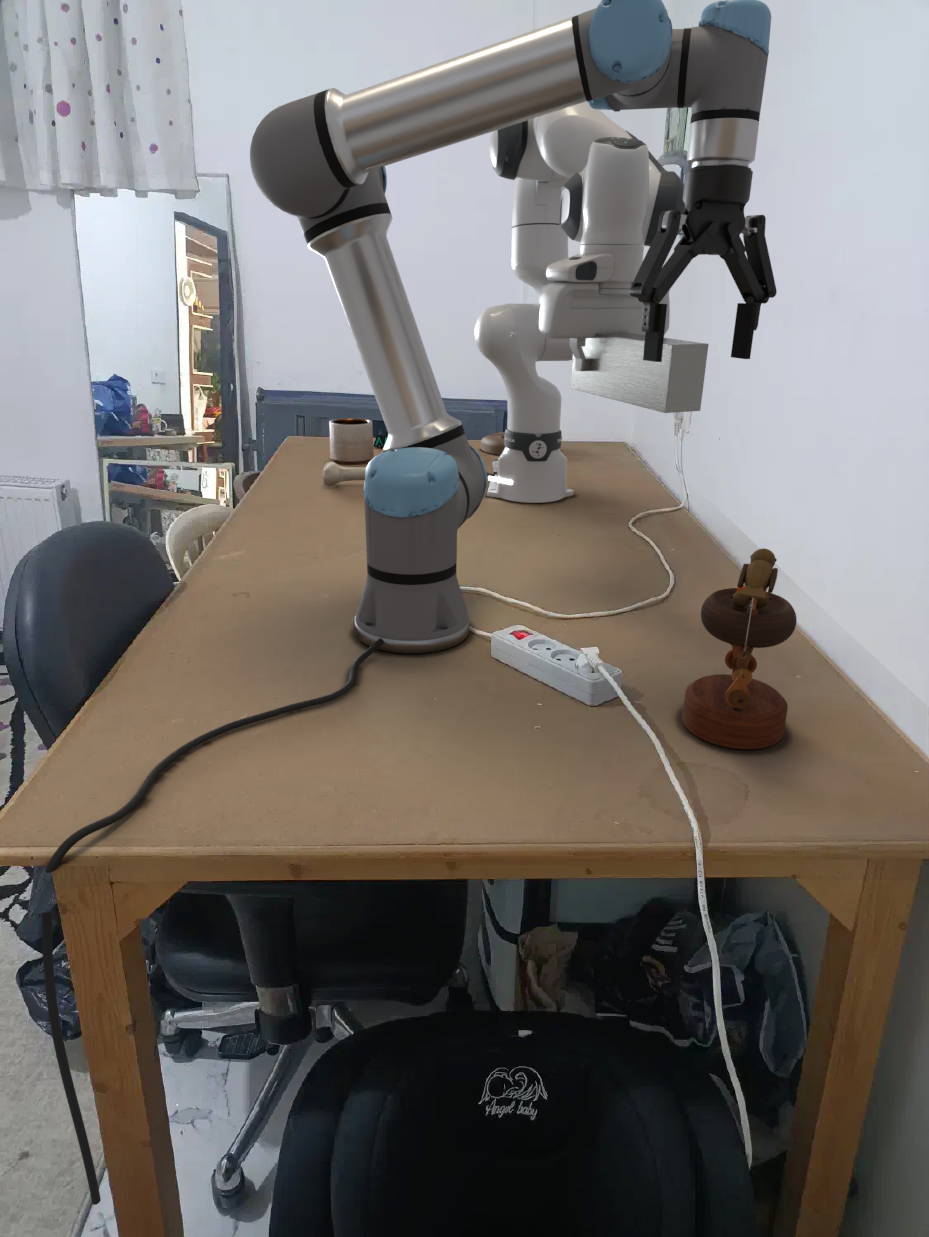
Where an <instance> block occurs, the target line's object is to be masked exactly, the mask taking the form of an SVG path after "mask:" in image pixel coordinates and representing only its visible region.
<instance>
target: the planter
mask: <svg viewBox="0 0 929 1237" xmlns="http://www.w3.org/2000/svg"><path fill="white" fill-rule="evenodd" d="M328 424H329V425H328V426H329V453H330V454H329V455H330V456H329V457H330V459H331V460H332V461H333V462H334V463H341V464H363V463H367V462H368V463H369V462H370V461H371V460H372V459H373V458H374V457H375V455H374V452H375V451H374V450H375V449H374V430H373V429H374V428H373V420H371V419H369V418H362V417H361V418H360V417H342V418H341V417H340V418H335V419H334V418H333V419H331V420H329V421H328Z"/></svg>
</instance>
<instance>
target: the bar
mask: <svg viewBox="0 0 929 1237" xmlns="http://www.w3.org/2000/svg"><path fill="white" fill-rule="evenodd" d="M644 343H645V335H641V334H634V333H596V334H595V337H594V338H586V341H585V346H582V349H583V352H584V355H585V357H586V358H589V359H590V365H589V366H590V369H589V371H576V370H575V359H576V358H575V357H574V355H573V360H572V362H571V363H572V364H571V378H570V379H571V380H570V389H571V390H576V391H579V392H583V393H587V394H590V395H594V396H598V397H601V398H606V399H609V400H613V401H618V402H621V403H624V404H625V403H626V404H629V405H633V406H637V407H640V408H645V409H648V410H652V411H656V412H659V413H663V414H672V413H686V412H700V411H701V408H702V399H703V391H704V385H705V384H704V383H705V375H706V368H707V361H708V360H707V359H708V352H709V343H706V342H705V343H704V342H700V341H699V342H698V341H692V340H691V341H690V340H683V339H677V338H669V337H664V341H663V351H662V361H661V362H653V361H647V360H643V354H644Z"/></svg>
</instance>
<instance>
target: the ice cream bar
mask: <svg viewBox="0 0 929 1237" xmlns="http://www.w3.org/2000/svg"><path fill="white" fill-rule="evenodd" d="M504 435H505V431H501V432H494V433H491V434H486V435H485V436H483V437H482V438H481V440H480V450H482V451H483V452H485V453H488V454H492V455H497V456H500V455H501V454H502V452H503V450H504V448H505V445H504Z"/></svg>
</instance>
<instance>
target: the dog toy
mask: <svg viewBox="0 0 929 1237" xmlns="http://www.w3.org/2000/svg"><path fill="white" fill-rule="evenodd" d="M322 470H323V471H322V483H323V484H324V485H327V486H334V485H338V484H340V483H342V482H350V481H351V482H352V481H365V471H366V467H347V466H343V465H342V466H341V465H339V464H337V462H335V461H329V462H327V463H325V464H324V466H323V469H322Z"/></svg>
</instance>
